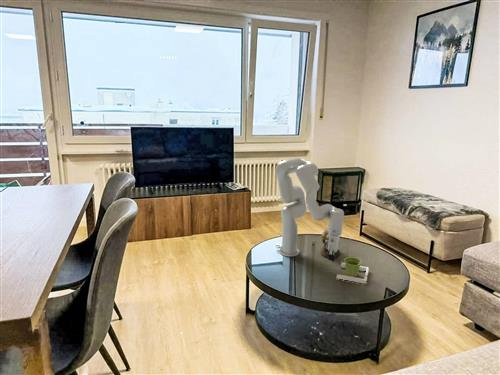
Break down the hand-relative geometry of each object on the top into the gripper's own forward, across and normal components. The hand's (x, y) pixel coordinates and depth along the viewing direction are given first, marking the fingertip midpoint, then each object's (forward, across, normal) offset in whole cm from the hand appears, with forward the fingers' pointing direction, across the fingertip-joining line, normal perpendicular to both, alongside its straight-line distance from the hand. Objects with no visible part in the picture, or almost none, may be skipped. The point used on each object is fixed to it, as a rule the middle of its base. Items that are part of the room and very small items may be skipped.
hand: (331, 259), depth 193 cm
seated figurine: (+8, +22, +4) cm, 24 cm away
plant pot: (+6, -1, -12) cm, 14 cm away
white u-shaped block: (+6, -1, -13) cm, 14 cm away
